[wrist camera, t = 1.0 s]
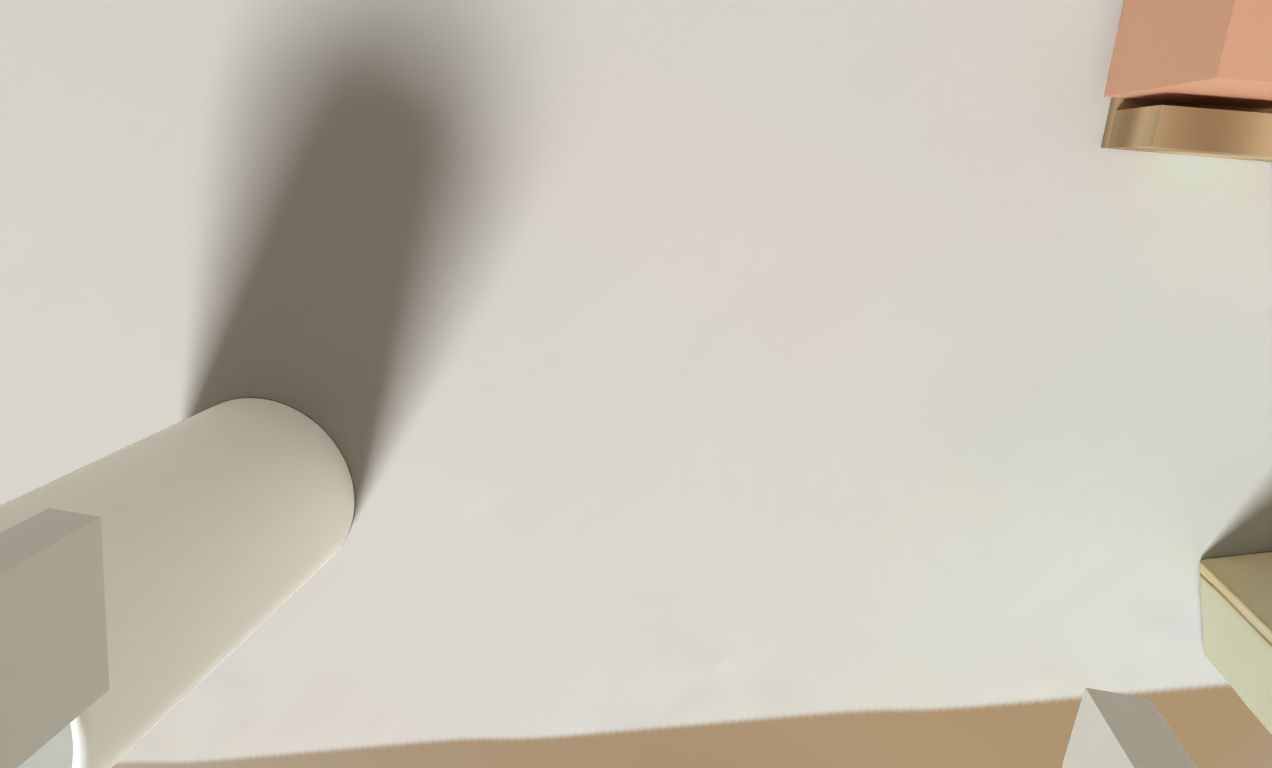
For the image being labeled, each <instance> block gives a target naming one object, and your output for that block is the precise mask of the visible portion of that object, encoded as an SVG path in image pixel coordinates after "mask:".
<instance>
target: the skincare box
mask: <svg viewBox="0 0 1272 768" xmlns="http://www.w3.org/2000/svg"><path fill="white" fill-rule="evenodd" d="M1200 596H1201V618H1202V637H1203V651H1204V654H1205V655H1206V657H1207V658H1208V659H1209V660H1210V662H1211V663H1212V664H1213V665H1214V666H1215V667H1216V669H1217V670H1218V671H1219V672H1220V673H1221V675H1222V676H1223V677H1224V678H1225V679H1226V681H1227V682H1228V683H1229V684H1230V685H1231V687H1232V688H1233V689H1234V690H1235V691H1236V692H1237V694H1238V695H1239V696H1240V697H1241V699H1242V700H1243V701H1244V702H1245V704H1246V705H1247V706H1248V707H1249V708H1250V710H1251V711H1252V712H1253V713H1254V714H1255V715H1256V716H1257V718H1258V719H1259V720H1260V721H1261V723H1262V724H1263V725H1264V726H1265V727H1266V728H1267V730H1268V731H1269V732H1270V733H1271V734H1272V552H1266V553H1256V554H1247V555H1238V556H1229V557H1220V558H1212V559H1205V560H1202V561H1201V562H1200Z"/></svg>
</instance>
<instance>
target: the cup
mask: <svg viewBox="0 0 1272 768" xmlns="http://www.w3.org/2000/svg"><path fill="white" fill-rule="evenodd" d="M354 505H355V502H354V489H353V483H352V479H351V475H350V472H349V469H348V467H347V464H346V462H345V460H344V458H343V456H342V454H341V452H340V451H339V449H338V448H337V446H336V445H335V443H334V442H333V441H332V439H331V438H330V437H329V436H328V435H327V434H326V432H325V431H324V430H323V429H322V428H321V427H319V426H318V425H317V424H316V423H315V422H314V421H312V420H311V419H310V418H308V417H307V416H305V415H304V414H302V413H301V412H299V411H297V410H295V409H293V408H291V407H289V406H286V405H284V404H281V403H278V402H275V401H271V400H266V399H258V398H242V399H234V400H230V401H226V402H223V403H220V404H218V405H215V406H213V407H211V408H209V409H207V410H205V411H203V412H200V413H198V414H196V415H194V416H192V417H190V418H188V419H185V420H183V421H181V422H179V423H177V424H175V425H172V426H170V427H168V428H166V429H164V430H162V431H160V432H157V433H155V434H153V435H151V436H149V437H147V438H145V439H142V440H140V441H138V442H136V443H134V444H132V445H130V446H127V447H125V448H123V449H121V450H119V451H117V452H115V453H112V454H110V455H108V456H106V457H104V458H102V459H100V460H97V461H95V462H93V463H91V464H89V465H87V466H84V467H82V468H80V469H78V470H76V471H74V472H72V473H69V474H67V475H65V476H63V477H61V478H59V479H57V480H54V481H52V482H50V483H48V484H46V485H44V486H42V487H39V488H37V489H35V490H33V491H31V492H29V493H27V494H24V495H22V496H20V497H18V498H16V499H14V500H11V501H9V502H7V503H5V504H3V505H1V506H0V533H2V532H4V531H5V530H7V529H9V528H11V527H13V526H15V525H17V524H19V523H21V522H23V521H25V520H27V519H29V518H31V517H33V516H34V515H36V514H38V513H40V512H42V511H44V510H46V509H48V508H52V509H58V510H64V511H69V512H75V513H81V514H87V515H92V516H98V517H101V534H102V553H103V572H104V591H105V610H106V629H107V648H108V667H109V686H110V690H108V691H107V692H106V693H105V694H104V695H103V696H101V697H100V698H99V699H98V700H97V701H95V702H94V703H93V704H92V705H91V706H90V707H88V708H87V709H86V710H85V711H84V712H82V713H81V714H80V715H79V716H78V717H77V718H75V719H74V720H73V721H72V722H71V723H69V724H68V725H67V726H66V727H65V728H64V729H62V730H61V731H60V732H59V733H58V734H56V735H55V736H54V737H53V738H52V739H51V740H49V741H48V742H47V743H46V744H45V745H44V746H42V747H41V748H40V749H39V750H38V751H36V752H35V753H34V754H33V755H32V756H31V757H29V758H28V759H27V760H26V761H25V762H23V763H22V764H21V765H20V766H19V767H18V768H111V767H112V766H113V765H114V764H115V763H116V762H117V761H118V760H120V759H121V758H122V757H123V756H124V755H125V754H126V753H127V752H128V751H129V750H130V749H131V748H132V747H133V746H134V745H135V744H136V743H137V742H138V741H139V740H141V739H142V738H143V737H144V736H145V735H146V734H147V733H148V732H149V731H150V730H151V729H152V728H153V727H154V726H155V725H156V724H157V723H158V722H159V721H160V720H162V719H163V718H164V717H165V716H166V715H167V714H168V713H169V712H170V711H171V710H172V709H173V708H174V707H175V706H176V705H177V704H178V703H179V702H180V701H181V700H183V699H184V698H185V697H186V696H187V695H188V694H189V693H190V692H191V691H192V690H193V689H194V688H195V687H196V686H197V685H198V684H199V683H200V682H201V681H202V680H204V679H205V678H206V677H207V676H208V675H209V674H210V673H211V672H212V671H213V670H214V669H215V668H216V667H217V666H218V665H219V664H220V663H221V662H222V661H223V660H225V659H226V658H227V657H228V656H229V655H230V654H231V653H232V652H233V651H234V650H235V649H236V648H237V647H238V646H239V645H240V644H241V643H242V642H243V641H244V640H246V639H247V638H248V637H249V636H250V635H251V634H252V633H253V632H254V631H255V630H256V629H257V628H258V627H259V626H260V625H261V624H262V623H263V622H264V621H265V620H267V619H268V618H269V617H270V616H271V615H272V614H273V613H274V612H275V611H276V610H277V609H278V608H279V607H280V606H281V605H282V604H283V603H284V602H285V601H286V600H288V599H289V598H290V597H291V596H292V595H293V594H294V593H295V592H296V591H297V590H298V589H299V588H300V587H301V586H302V585H303V584H304V583H305V582H306V581H307V580H309V579H310V578H311V577H312V576H313V575H314V574H315V573H316V572H317V571H318V570H319V569H320V568H321V567H322V566H323V565H324V564H325V563H326V562H327V561H328V560H330V559H331V558H332V557H333V556H334V554H335V553H336V552H337V551H338V550H339V548H340V547H341V546H342V544H343V543H344V541H345V539H346V537H347V535H348V533H349V530H350V527H351V524H352V520H353V515H354Z"/></svg>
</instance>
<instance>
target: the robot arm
mask: <svg viewBox="0 0 1272 768" xmlns="http://www.w3.org/2000/svg"><path fill="white" fill-rule="evenodd" d="M108 690H110V686H109V667H108V648H107V629H106V610H105V591H104V572H103V553H102V534H101V517H98V516H92V515H87V514H81V513H75V512H69V511H64V510H58V509H52V508H48V509H46V510H44V511H42V512H40V513H38V514H36V515H34V516H33V517H31V518H29V519H27V520H25V521H23V522H21V523H19V524H17V525H15V526H13V527H11V528H9V529H7V530H5V531H4V532H2V533H0V768H18V767H19V766H20V765H21V764H22V763H23V762H25V761H26V760H27V759H28V758H29V757H31V756H32V755H33V754H34V753H35V752H36V751H38V750H39V749H40V748H41V747H42V746H44V745H45V744H46V743H47V742H48V741H49V740H51V739H52V738H53V737H54V736H55V735H56V734H58V733H59V732H60V731H61V730H62V729H64V728H65V727H66V726H67V725H68V724H69V723H71V722H72V721H73V720H74V719H75V718H77V717H78V716H79V715H80V714H81V713H82V712H84V711H85V710H86V709H87V708H88V707H90V706H91V705H92V704H93V703H94V702H95V701H97V700H98V699H99V698H100V697H101V696H103V695H104V694H105V693H106V692H107V691H108ZM1062 768H1198V766H1197V765H1196V763H1195V762H1194V761H1193V759H1192V758H1191V756H1190V755H1189V753H1188V752H1187V751H1186V749H1185V748H1184V746H1183V745H1182V744H1181V742H1180V741H1179V739H1178V738H1177V737H1176V735H1175V734H1174V732H1173V731H1172V730H1171V728H1170V727H1169V726H1168V724H1167V723H1166V721H1165V720H1164V718H1163V717H1162V716H1161V714H1160V713H1159V711H1158V710H1157V709H1156V707H1155V706H1154V705H1153V703H1152V702H1151V700H1150V699H1147V698H1142V697H1136V696H1130V695H1124V694H1119V693H1113V692H1107V691H1101V690H1096V689H1090V688H1085V691H1084V694H1083V698H1082V701H1081V704H1080V708H1079V711H1078V714H1077V718H1076V721H1075V724H1074V728H1073V731H1072V734H1071V738H1070V741H1069V745H1068V748H1067V751H1066V755H1065V758H1064V761H1063V765H1062Z"/></svg>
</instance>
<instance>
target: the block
mask: <svg viewBox="0 0 1272 768" xmlns="http://www.w3.org/2000/svg"><path fill="white" fill-rule="evenodd" d="M1104 97H1116V98H1129V99H1142V100H1155V101H1168V102H1180V103H1193V104H1206V105H1219V106H1232V107H1245V108H1258V109H1268V108H1272V0H1124V4H1123V9H1122V13H1121V18H1120V23H1119V28H1118V32H1117V37H1116V42H1115V46H1114V51H1113V56H1112V61H1111V65H1110V70H1109V75H1108V80H1107V84H1106V89H1105V94H1104Z"/></svg>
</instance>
